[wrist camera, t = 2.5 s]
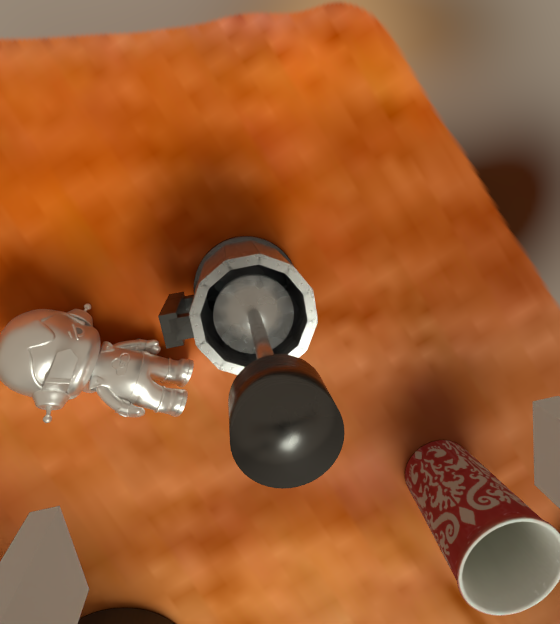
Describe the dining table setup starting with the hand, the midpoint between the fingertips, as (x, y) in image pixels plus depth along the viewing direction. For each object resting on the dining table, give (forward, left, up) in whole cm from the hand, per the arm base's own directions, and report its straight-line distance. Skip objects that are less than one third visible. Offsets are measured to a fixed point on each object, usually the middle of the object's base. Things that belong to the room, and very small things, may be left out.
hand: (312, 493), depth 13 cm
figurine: (-14, -4, -30) cm, 33 cm away
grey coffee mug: (0, 0, -30) cm, 30 cm away
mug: (+17, -25, -30) cm, 43 cm away
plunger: (0, 0, -21) cm, 21 cm away
